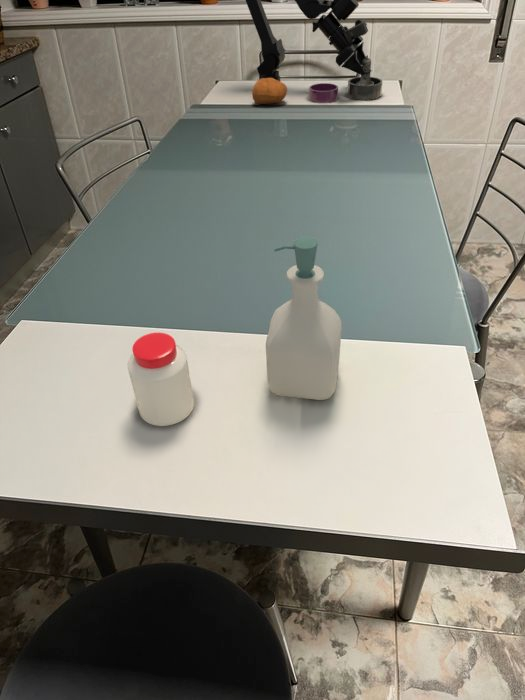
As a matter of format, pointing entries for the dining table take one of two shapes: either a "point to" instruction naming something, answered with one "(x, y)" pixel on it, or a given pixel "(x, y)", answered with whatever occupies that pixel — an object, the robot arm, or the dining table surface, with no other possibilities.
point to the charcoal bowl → (364, 89)
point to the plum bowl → (323, 93)
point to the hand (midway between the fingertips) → (366, 70)
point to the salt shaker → (366, 72)
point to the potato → (269, 91)
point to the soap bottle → (303, 333)
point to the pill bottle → (160, 380)
